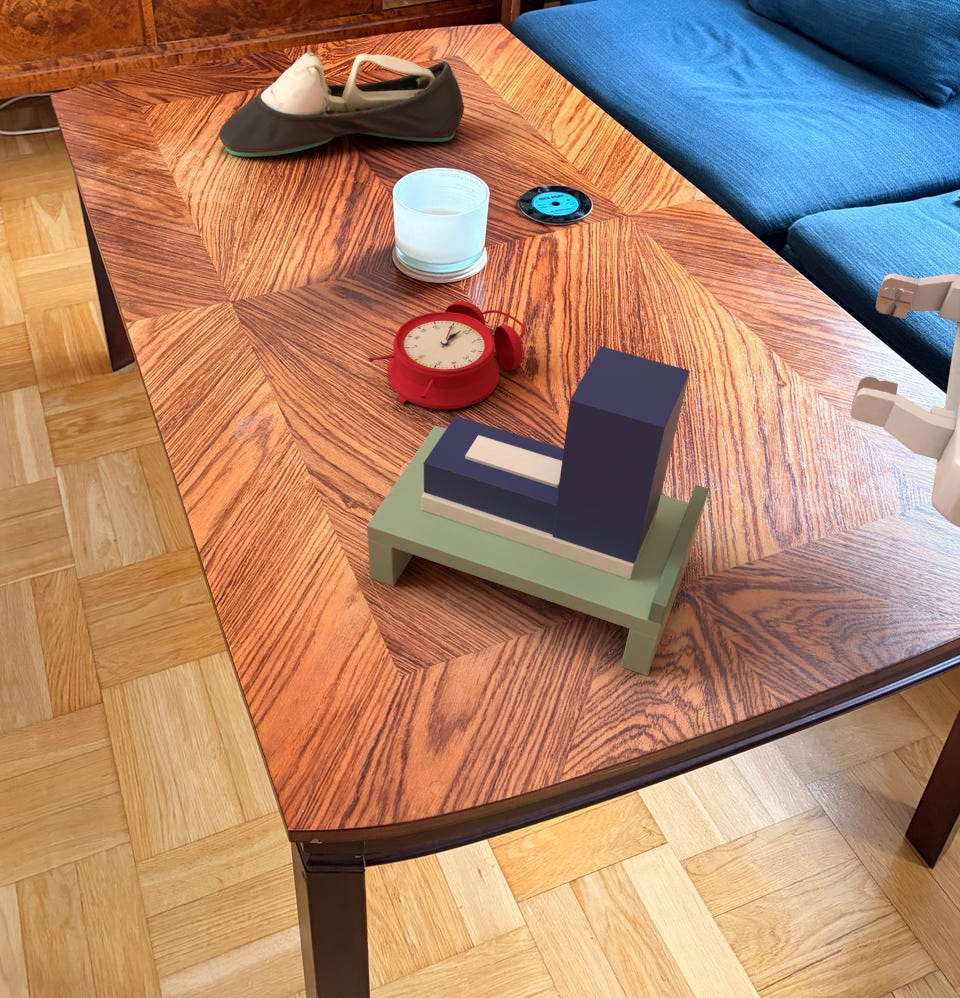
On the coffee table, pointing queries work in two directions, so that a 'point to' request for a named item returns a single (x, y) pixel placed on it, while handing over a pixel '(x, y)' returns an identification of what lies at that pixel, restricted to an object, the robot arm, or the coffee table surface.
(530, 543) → the dark blue l-shaped block
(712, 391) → the coffee table surface
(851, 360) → the coffee table surface
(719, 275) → the coffee table surface
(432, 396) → the alarm clock
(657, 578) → the shoe rack
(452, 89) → the ballet flat
